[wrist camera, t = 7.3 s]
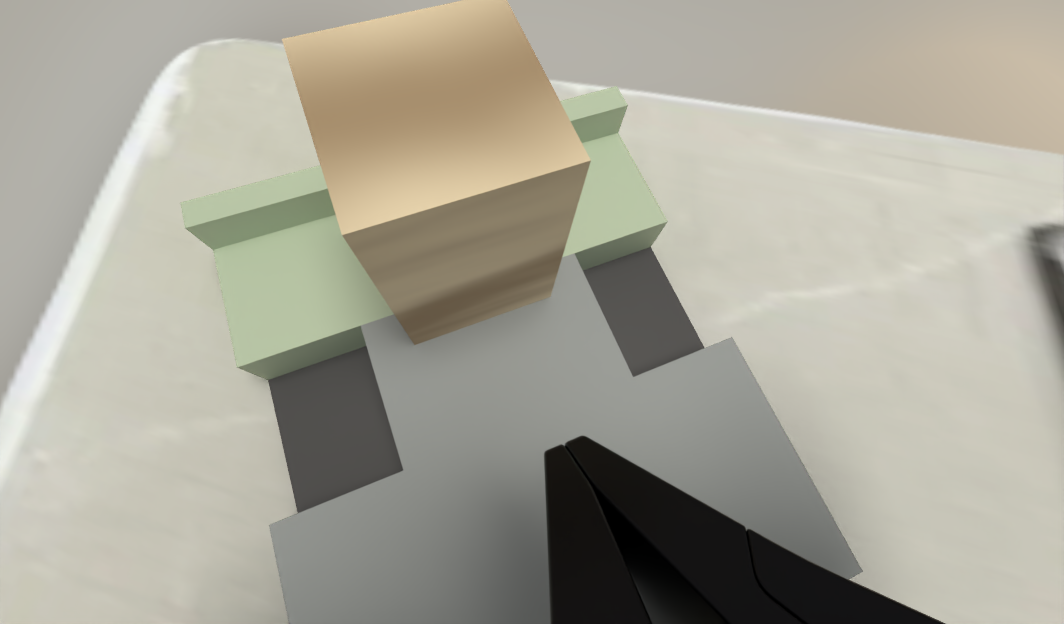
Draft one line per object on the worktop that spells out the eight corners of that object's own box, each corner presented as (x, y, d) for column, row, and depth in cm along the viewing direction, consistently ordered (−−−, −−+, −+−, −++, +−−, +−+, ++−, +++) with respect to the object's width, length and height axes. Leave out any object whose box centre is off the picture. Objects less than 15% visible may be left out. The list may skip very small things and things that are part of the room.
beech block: (550, 296, 16) (591, 160, 9) (414, 345, 15) (341, 234, 8) (500, 184, 18) (502, -8, 10) (373, 222, 17) (281, 39, 10)
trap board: (809, 557, 16) (904, 582, 12) (366, 794, 13) (314, 922, 9) (595, 153, 21) (616, 86, 18) (244, 257, 18) (180, 202, 15)
